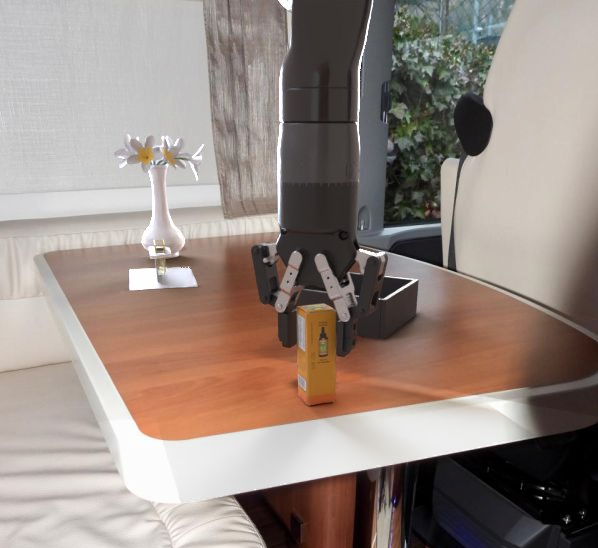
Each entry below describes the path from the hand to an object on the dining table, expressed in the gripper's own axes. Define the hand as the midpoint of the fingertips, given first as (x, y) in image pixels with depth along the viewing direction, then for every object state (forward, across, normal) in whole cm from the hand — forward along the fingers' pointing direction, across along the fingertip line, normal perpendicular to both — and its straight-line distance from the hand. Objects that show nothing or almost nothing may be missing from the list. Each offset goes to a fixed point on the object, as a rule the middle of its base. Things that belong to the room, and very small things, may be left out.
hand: (316, 349), depth 65 cm
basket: (+5, +6, -25) cm, 26 cm away
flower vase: (+6, +65, -57) cm, 87 cm away
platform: (+6, +52, -39) cm, 65 cm away
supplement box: (+6, 0, 0) cm, 6 cm away
